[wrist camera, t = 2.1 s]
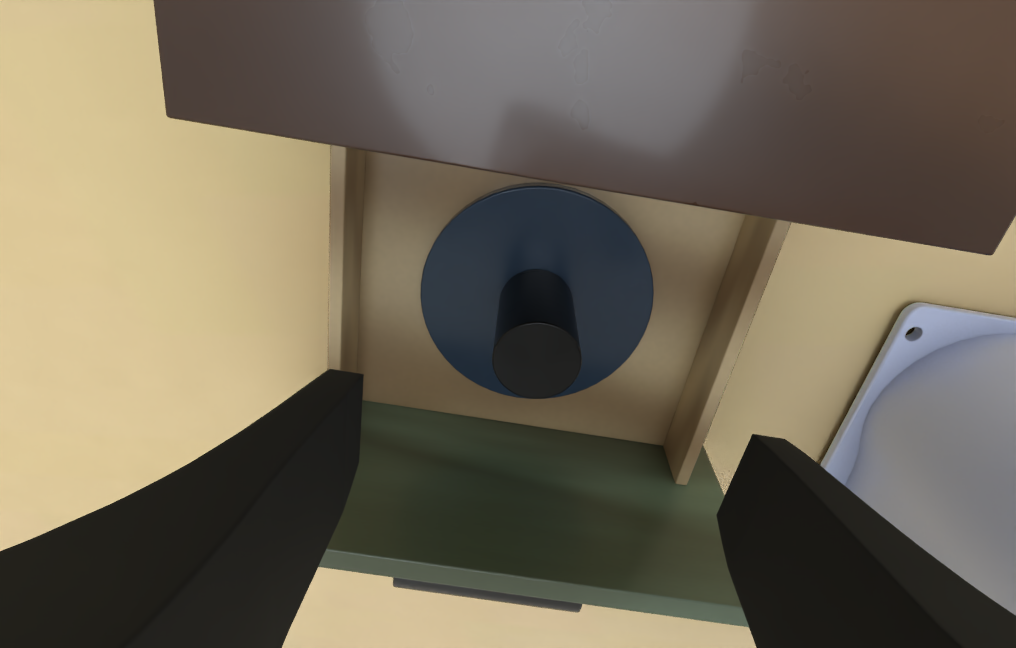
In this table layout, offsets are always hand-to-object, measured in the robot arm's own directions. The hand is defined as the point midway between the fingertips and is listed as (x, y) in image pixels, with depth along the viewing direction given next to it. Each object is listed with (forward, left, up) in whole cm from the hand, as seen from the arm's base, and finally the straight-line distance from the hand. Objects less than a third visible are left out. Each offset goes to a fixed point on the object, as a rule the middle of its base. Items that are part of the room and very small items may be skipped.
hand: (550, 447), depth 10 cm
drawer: (0, 0, -8) cm, 8 cm away
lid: (0, 0, -8) cm, 8 cm away
